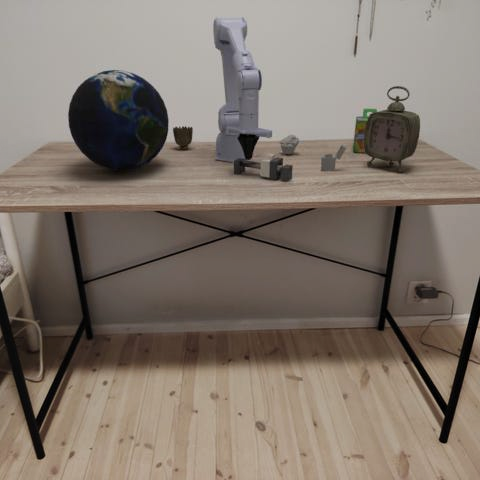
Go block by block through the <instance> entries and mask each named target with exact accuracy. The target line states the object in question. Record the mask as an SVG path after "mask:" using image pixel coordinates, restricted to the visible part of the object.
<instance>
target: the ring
mask: <svg viewBox="0 0 480 480" xmlns="http://www.w3.org/2000/svg"><path fill="white" fill-rule="evenodd" d="M277 164H278V165H282V166H284V157H279V156H275V159H273V160H271V161H270V171H269V177H268V179H269V180H270V179H271V180H277V179H278V178H281V172H277Z"/></svg>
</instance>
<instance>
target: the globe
mask: <svg viewBox="0 0 480 480" xmlns="http://www.w3.org/2000/svg"><path fill="white" fill-rule="evenodd" d="M67 114H68V116H67V117H68V128H69V132H70V135H71V137H72V139H73V141H74V144H75V145H76V147H77V148H78V149H79V151H80V152H81V153H82V154H83V155H84V156H85V157H86V158H87V159H89V160H90V161H91V162H92V163H94V164H96V165H98V166H99V167H102V168H105V169H108V170H112V171H121V172H122V171H124V172H125V171H132V170H136V169H139V168H141V167H143V166H146V165H147V164H149V163H151V162H152V161H153V160H154V159H155V158H156V157H157V156H158V155H159V153H160V152H161V150H163V147H164V146H165V143H166V141H167V138H168V133H169V114H168V110H167V107H166V103H165V102H164V100H163V98H162V96H161V94H160V93H159V91H157V89H156V88H155V87H154V86H153V85H152V84H151V83H150V82H149V81H147V80H146V79H145V78H143V77H141V76H139V75H138V74H136V73H133V72H130V71H125V70H119V69H113V70H111V69H109V70H103V71H101V72H96V73H94V74H93V75H91V76H90V77H88V78H87V79H85V80H84V81H83V82H82V83H80V85H79V86H78V87H77V88H76V90H75V92H74V93H73V95H72V97H71V100H70V102H69V106H68V112H67Z"/></svg>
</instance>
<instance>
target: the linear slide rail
mask: <svg viewBox="0 0 480 480" xmlns="http://www.w3.org/2000/svg"><path fill="white" fill-rule="evenodd" d="M293 167H294V166H293V164H285V165H283V166H282V165H278V164H277V172H281V176H280V181H281V182H283V183H284V182H285V183H288V182H289V181H291V180H292V179H293ZM246 168H250V169H257V170H261V161H252V160H245V159H243V158H238V159H236V160H234V162H233V174H234V175H238V176H239V175H242V174H243V173H246V172H245V171H246Z"/></svg>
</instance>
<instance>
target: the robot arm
mask: <svg viewBox="0 0 480 480" xmlns="http://www.w3.org/2000/svg"><path fill="white" fill-rule="evenodd" d="M212 27H213V30H212V31H213V42H214V46H215V49H217V50H218V51H219V52H220V55H221V62H222V63H221V64H222V73H223V74H222V75H223V76H222V77H223V87H224V96H225V97H224V99H225V104H223V105H222V106H221V107H220V109H218V110H219V111H218V113H217V115H218V120H217V121H218V123H217V125H218V130H219V133H218V134H217V136H216V139H215V140H216V141H215V150H216V152H215V153H216V154H215V156H216V158H215V159H214V160H215V161H220V162H221V161H222V162H227V163H234V160H236V159H238V158H243V159H245V160H246V161H251V160H252V159H253V156H254V155H253V154H254V152H255V151H254V150H255V148H256V146H257V143H258V141H259V140H260V137H261V138H266V139H270V138H273V130H271V129H265V128H260V127H259V109H260V108H259V106H260V105H259V100H260V98H259V97H260V94H259V92H260V91H261V89H262V85H263V84H262V83H263V76H262V71H261V69H260V68H258V67H257V66H255V61H254V59H253V56H252V54H251V52H250V51H249V50H248V49H246V48H247V47H246V43H245V41H246V39H247V38H246V37H247V36H248V23H247V20H246V18H245V17H243V16H241V17H215V19H214V20H213V26H212Z"/></svg>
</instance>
